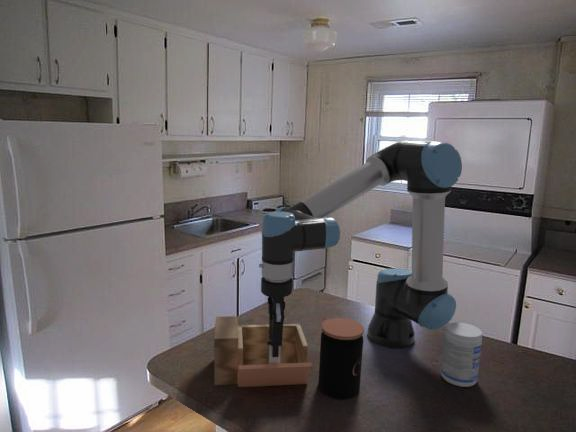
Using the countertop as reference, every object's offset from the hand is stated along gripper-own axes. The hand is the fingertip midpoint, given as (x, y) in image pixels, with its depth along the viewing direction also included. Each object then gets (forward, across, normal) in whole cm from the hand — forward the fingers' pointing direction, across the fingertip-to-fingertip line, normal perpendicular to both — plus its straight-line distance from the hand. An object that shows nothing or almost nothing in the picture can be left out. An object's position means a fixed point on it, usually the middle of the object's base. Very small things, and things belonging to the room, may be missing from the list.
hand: (274, 365), depth 106 cm
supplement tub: (+9, -4, +52) cm, 53 cm away
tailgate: (+7, -3, 0) cm, 8 cm away
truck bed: (+8, -10, -3) cm, 14 cm away
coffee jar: (+9, 0, +17) cm, 19 cm away
